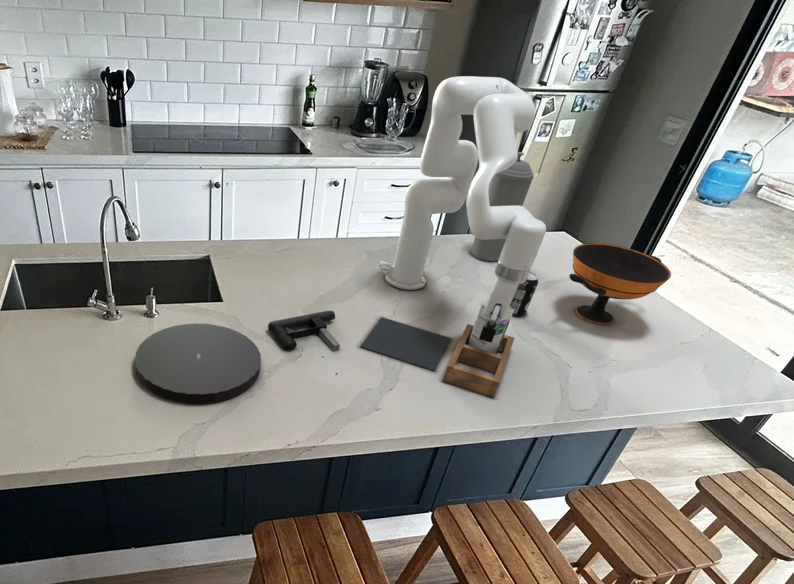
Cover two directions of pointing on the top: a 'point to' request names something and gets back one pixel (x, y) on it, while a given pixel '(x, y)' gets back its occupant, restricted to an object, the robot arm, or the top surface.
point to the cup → (614, 276)
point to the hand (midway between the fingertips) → (488, 332)
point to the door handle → (311, 320)
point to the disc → (197, 363)
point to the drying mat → (406, 343)
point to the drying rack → (477, 365)
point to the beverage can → (524, 295)
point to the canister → (504, 203)
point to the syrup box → (499, 334)
